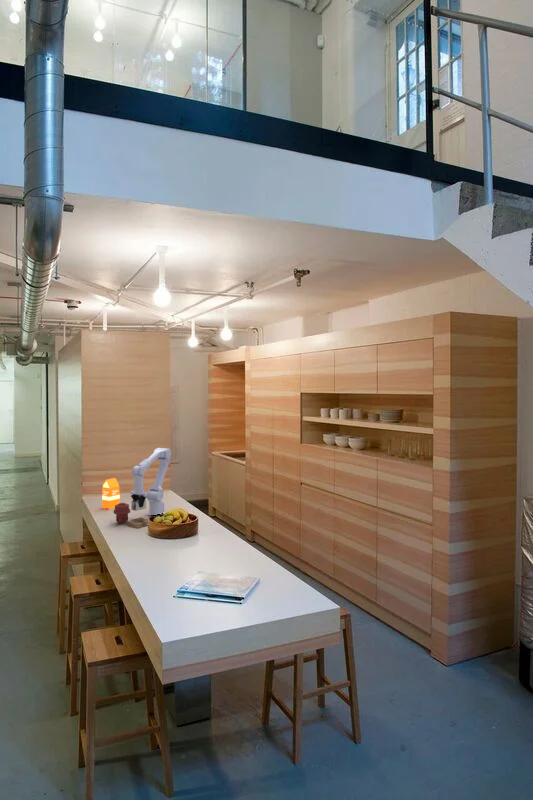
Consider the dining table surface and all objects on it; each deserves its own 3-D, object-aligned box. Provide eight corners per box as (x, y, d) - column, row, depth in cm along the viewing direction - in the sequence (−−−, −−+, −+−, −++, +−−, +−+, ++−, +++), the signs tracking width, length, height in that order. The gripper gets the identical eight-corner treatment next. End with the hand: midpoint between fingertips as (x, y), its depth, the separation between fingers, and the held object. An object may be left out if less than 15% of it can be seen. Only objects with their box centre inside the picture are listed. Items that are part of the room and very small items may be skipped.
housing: (141, 507, 336) (141, 498, 335) (146, 508, 333) (145, 499, 333) (131, 509, 329) (131, 500, 329) (135, 510, 327) (135, 501, 326)
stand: (140, 521, 328) (140, 517, 328) (152, 524, 322) (152, 520, 321) (126, 525, 320) (126, 521, 319) (137, 528, 313) (137, 524, 313)
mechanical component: (117, 520, 330) (132, 521, 329) (111, 525, 320) (126, 525, 319) (117, 501, 329) (132, 501, 328) (110, 505, 319) (126, 505, 318)
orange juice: (119, 506, 366) (119, 478, 365) (109, 509, 358) (109, 480, 357) (112, 505, 370) (111, 477, 369) (102, 507, 362) (101, 479, 362)
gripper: (126, 484, 332) (126, 505, 333) (140, 487, 323) (141, 509, 324) (135, 482, 338) (135, 503, 338) (150, 485, 329) (150, 507, 329)
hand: (138, 506), depth 331 cm, fingers closed on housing, 4 cm apart
